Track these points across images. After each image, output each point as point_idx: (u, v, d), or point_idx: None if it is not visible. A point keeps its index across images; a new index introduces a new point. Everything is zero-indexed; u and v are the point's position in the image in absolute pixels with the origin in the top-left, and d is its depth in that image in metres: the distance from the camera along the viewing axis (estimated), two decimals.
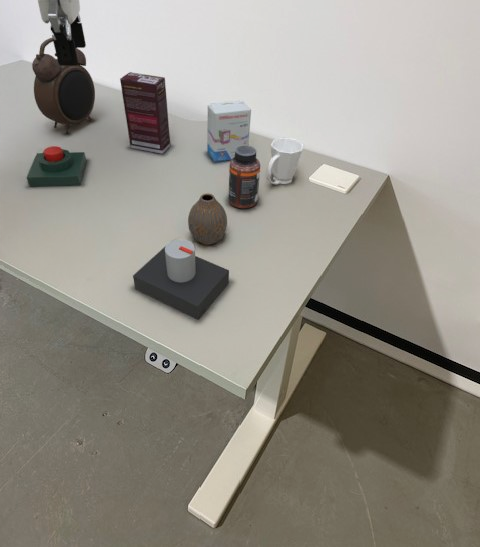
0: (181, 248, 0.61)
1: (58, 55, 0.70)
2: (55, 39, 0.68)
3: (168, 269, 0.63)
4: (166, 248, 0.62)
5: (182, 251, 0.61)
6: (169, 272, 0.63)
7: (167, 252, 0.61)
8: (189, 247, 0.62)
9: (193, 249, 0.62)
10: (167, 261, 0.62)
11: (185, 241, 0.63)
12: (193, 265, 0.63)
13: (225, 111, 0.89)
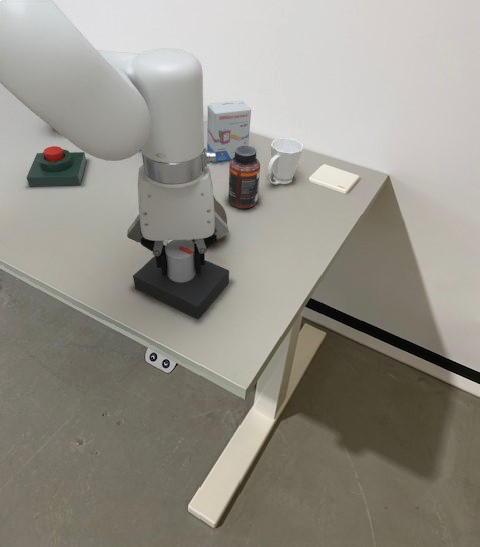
0: (181, 248, 0.61)
1: None
2: None
3: (168, 269, 0.63)
4: (166, 248, 0.62)
5: (182, 251, 0.61)
6: (169, 272, 0.63)
7: (167, 252, 0.61)
8: (189, 247, 0.62)
9: (193, 249, 0.62)
10: (167, 261, 0.62)
11: (185, 241, 0.63)
12: (193, 265, 0.63)
13: (225, 111, 0.89)
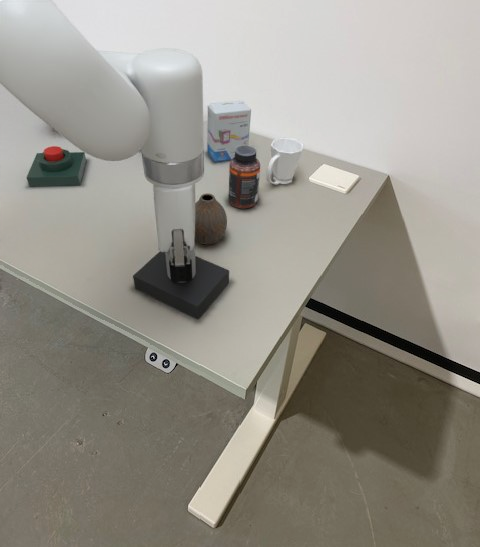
0: None
1: (172, 274, 0.61)
2: (174, 265, 0.59)
3: None
4: None
5: None
6: None
7: None
8: None
9: None
10: None
11: None
12: None
13: (225, 111, 0.89)
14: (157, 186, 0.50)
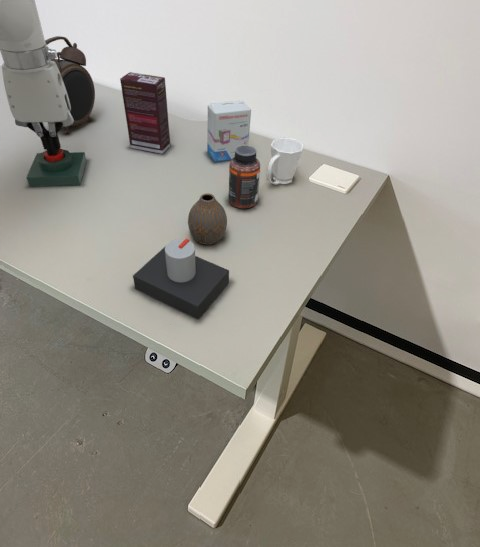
0: (182, 245, 0.62)
1: None
2: None
3: (188, 272, 0.63)
4: (179, 257, 0.60)
5: (185, 246, 0.62)
6: (190, 273, 0.63)
7: (186, 256, 0.61)
8: (179, 242, 0.63)
9: (181, 239, 0.63)
10: (188, 264, 0.62)
11: (169, 245, 0.62)
12: None
13: (225, 111, 0.89)
14: None
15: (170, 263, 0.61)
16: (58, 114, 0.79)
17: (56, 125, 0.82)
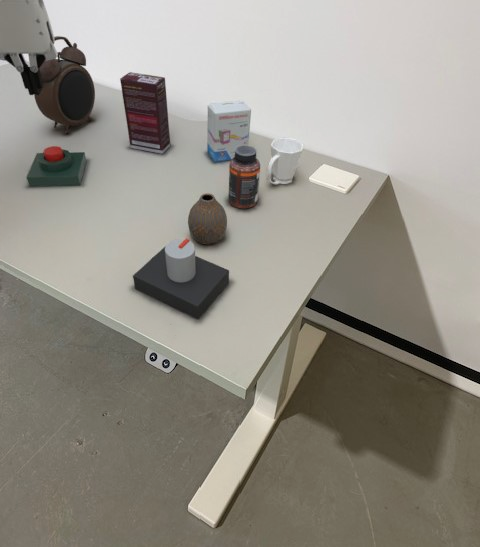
0: (182, 245, 0.62)
1: None
2: None
3: (188, 272, 0.63)
4: (179, 257, 0.60)
5: (185, 246, 0.62)
6: (190, 273, 0.63)
7: (186, 256, 0.61)
8: (179, 242, 0.63)
9: (181, 239, 0.63)
10: (188, 264, 0.62)
11: (169, 245, 0.62)
12: None
13: (225, 111, 0.89)
14: None
15: (170, 263, 0.61)
16: (39, 43, 0.71)
17: (38, 58, 0.73)
